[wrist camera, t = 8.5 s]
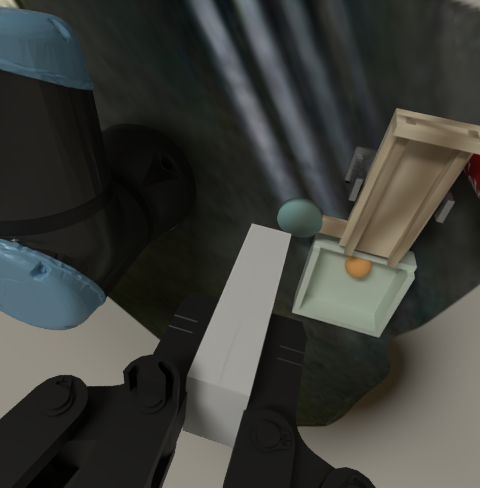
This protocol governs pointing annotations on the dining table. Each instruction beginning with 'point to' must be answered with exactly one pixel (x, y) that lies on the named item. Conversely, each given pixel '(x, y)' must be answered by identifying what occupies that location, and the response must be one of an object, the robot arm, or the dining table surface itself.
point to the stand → (360, 170)
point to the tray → (351, 287)
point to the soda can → (474, 172)
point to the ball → (357, 267)
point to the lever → (394, 187)
